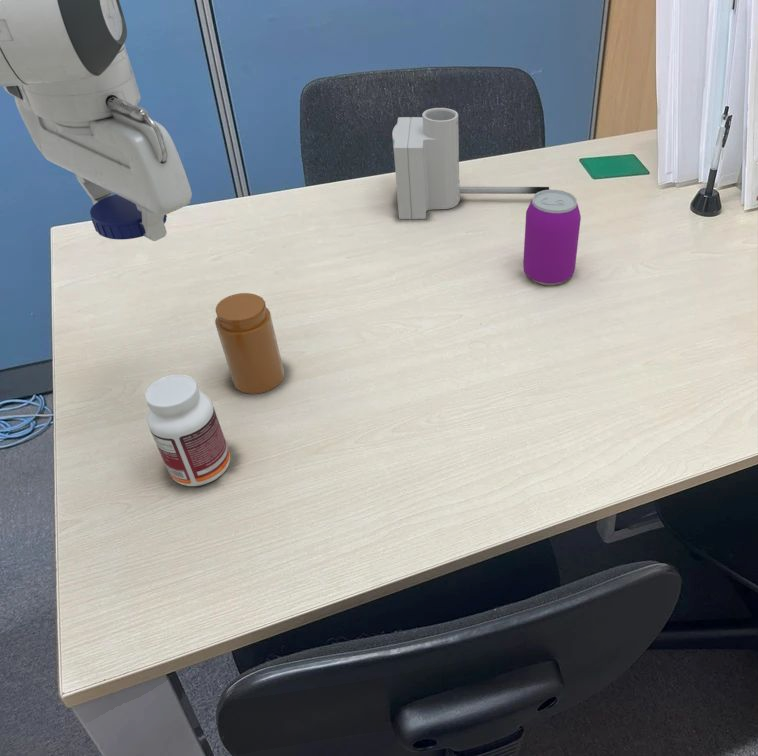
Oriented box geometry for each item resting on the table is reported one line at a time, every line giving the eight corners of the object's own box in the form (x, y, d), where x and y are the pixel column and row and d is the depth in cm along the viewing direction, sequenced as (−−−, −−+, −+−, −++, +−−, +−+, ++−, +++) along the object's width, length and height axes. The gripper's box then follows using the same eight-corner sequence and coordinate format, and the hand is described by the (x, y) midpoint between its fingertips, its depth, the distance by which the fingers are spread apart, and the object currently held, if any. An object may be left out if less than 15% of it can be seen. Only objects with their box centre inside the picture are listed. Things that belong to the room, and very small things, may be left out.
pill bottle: (233, 441, 77) (208, 365, 70) (229, 483, 73) (202, 407, 66) (173, 449, 76) (141, 372, 69) (166, 492, 72) (131, 416, 64)
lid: (149, 201, 75) (144, 185, 74) (178, 224, 71) (173, 208, 70) (85, 221, 71) (78, 205, 70) (112, 247, 68) (105, 230, 66)
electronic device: (399, 185, 124) (392, 99, 114) (544, 185, 126) (550, 101, 116) (395, 219, 115) (387, 129, 105) (551, 219, 117) (559, 131, 107)
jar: (251, 401, 82) (231, 329, 75) (223, 377, 85) (200, 306, 78) (294, 376, 86) (278, 305, 79) (265, 355, 89) (248, 284, 82)
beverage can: (575, 262, 107) (584, 189, 99) (572, 290, 101) (580, 215, 93) (526, 257, 108) (530, 184, 100) (519, 285, 102) (523, 210, 94)
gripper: (186, 102, 60) (224, 244, 69) (53, 52, 68) (103, 184, 77) (118, 124, 56) (167, 272, 65) (-14, 69, 64) (47, 206, 74)
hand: (131, 224), depth 71 cm, fingers closed on lid, 6 cm apart
